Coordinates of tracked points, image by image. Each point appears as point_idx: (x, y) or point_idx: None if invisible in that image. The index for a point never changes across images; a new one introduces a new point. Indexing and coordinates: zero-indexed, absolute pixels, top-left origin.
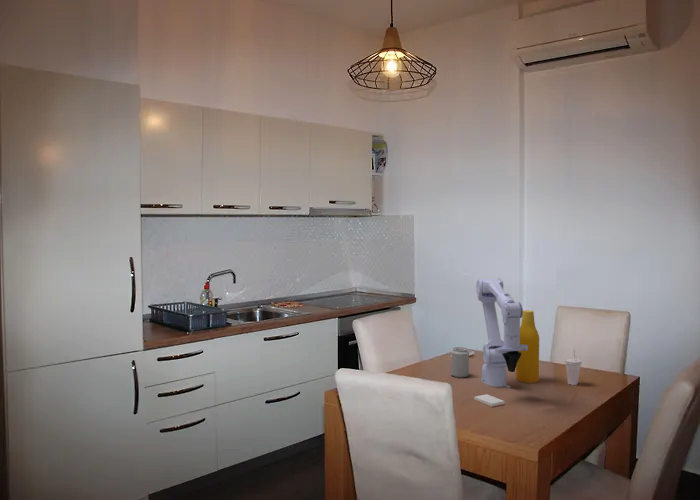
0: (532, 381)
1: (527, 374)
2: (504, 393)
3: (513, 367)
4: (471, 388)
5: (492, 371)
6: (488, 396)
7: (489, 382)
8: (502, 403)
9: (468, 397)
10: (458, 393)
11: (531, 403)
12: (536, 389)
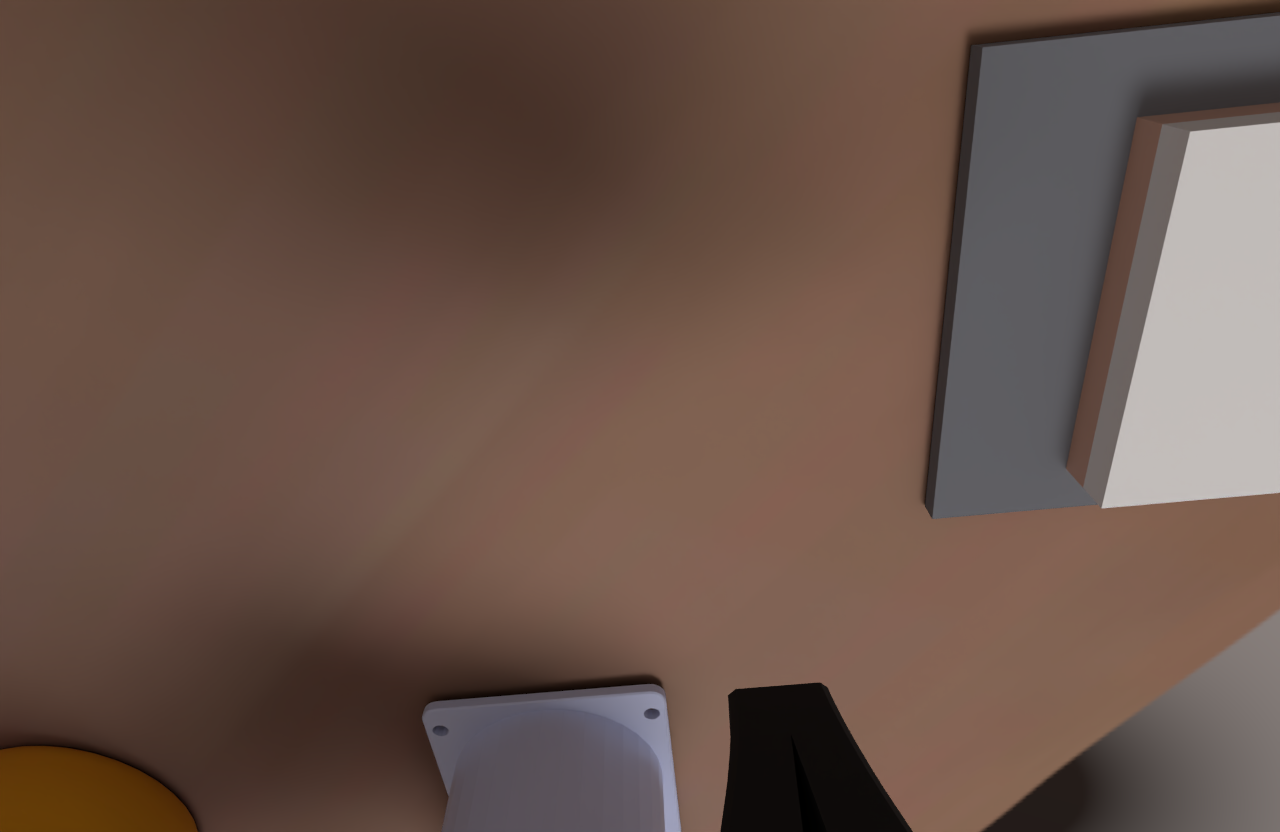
0: (51, 759)
1: None
2: (630, 587)
3: (831, 781)
4: None
5: None
6: (1177, 422)
7: (663, 822)
8: (1211, 118)
9: (1124, 617)
10: (1091, 738)
11: (571, 105)
12: (127, 570)
